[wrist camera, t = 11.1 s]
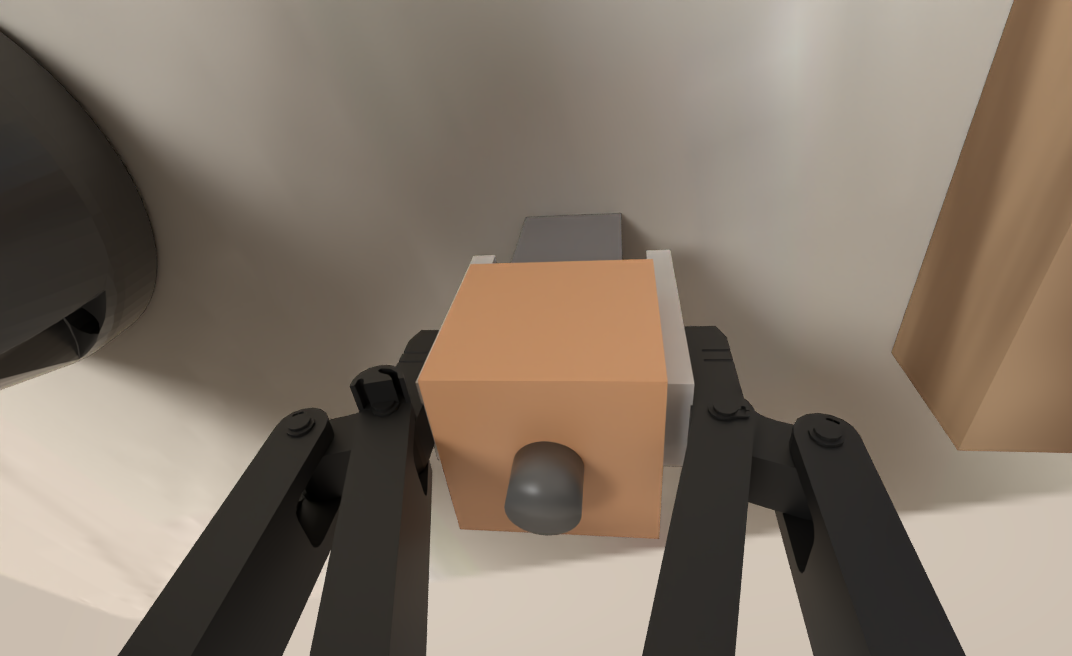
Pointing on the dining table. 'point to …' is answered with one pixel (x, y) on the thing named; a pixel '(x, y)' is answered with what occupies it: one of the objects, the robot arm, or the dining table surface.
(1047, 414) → the socket
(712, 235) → the dining table surface
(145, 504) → the dining table surface
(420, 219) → the dining table surface
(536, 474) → the plug
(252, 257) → the dining table surface
